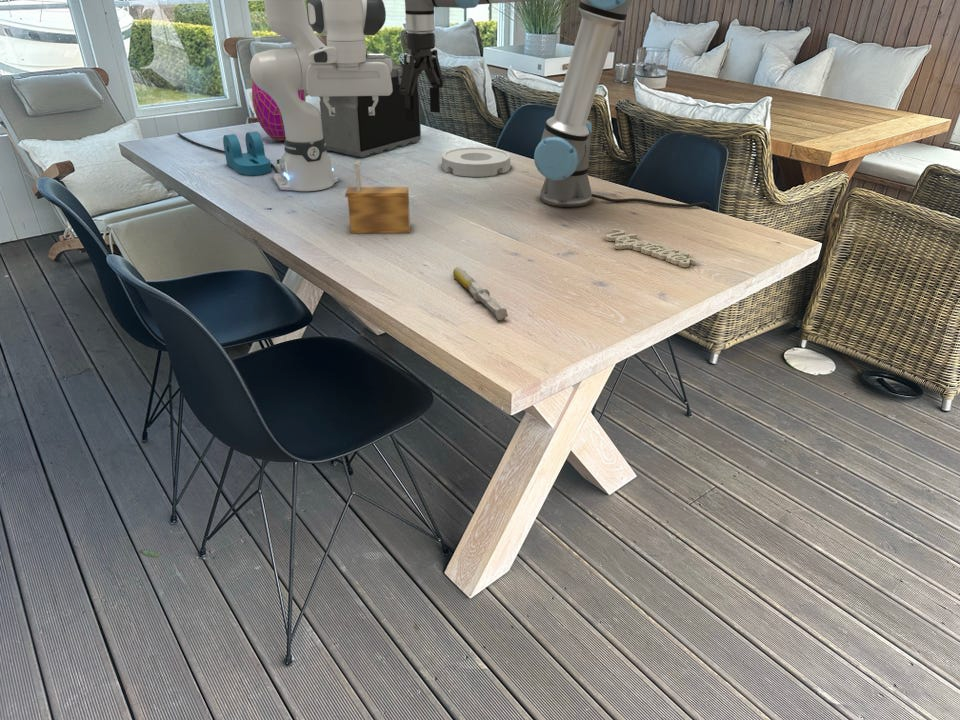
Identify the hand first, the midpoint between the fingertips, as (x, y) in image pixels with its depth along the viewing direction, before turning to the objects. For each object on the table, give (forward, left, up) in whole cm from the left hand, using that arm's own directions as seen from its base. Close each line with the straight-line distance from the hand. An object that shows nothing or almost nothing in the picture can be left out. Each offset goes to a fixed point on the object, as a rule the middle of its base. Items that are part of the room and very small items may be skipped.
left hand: (352, 115), depth 167 cm
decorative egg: (-105, +19, -28) cm, 110 cm away
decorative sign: (+53, +51, -28) cm, 79 cm away
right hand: (-12, +27, -5) cm, 30 cm away
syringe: (+53, +2, -28) cm, 60 cm away
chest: (+4, +4, -28) cm, 29 cm away
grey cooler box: (-79, +43, -28) cm, 94 cm away
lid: (+4, +3, -19) cm, 19 cm away
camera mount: (-72, -5, -28) cm, 77 cm away
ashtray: (-33, +59, -28) cm, 73 cm away
